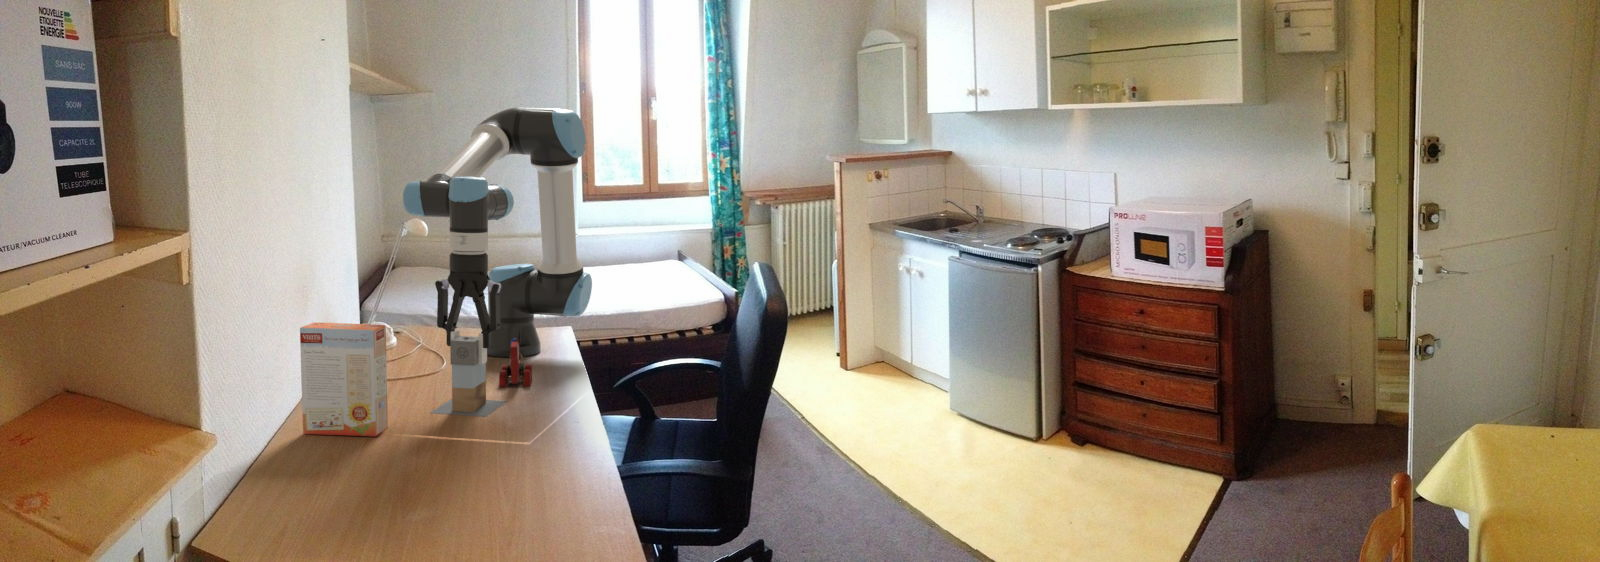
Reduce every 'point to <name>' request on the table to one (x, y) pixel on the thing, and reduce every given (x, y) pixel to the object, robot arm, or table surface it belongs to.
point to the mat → (482, 411)
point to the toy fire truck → (515, 368)
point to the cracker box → (344, 379)
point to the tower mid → (468, 375)
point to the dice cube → (464, 350)
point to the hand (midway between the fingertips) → (468, 362)
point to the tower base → (468, 398)
